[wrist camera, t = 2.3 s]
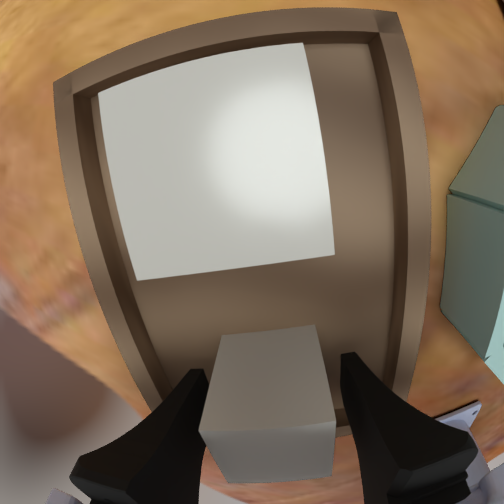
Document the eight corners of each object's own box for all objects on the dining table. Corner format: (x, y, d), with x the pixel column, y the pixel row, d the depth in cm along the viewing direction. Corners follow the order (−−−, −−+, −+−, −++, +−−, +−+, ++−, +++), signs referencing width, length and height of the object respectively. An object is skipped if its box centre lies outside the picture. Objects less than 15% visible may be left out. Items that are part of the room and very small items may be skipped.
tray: (391, 401, 14) (399, 422, 12) (178, 422, 15) (171, 444, 14) (380, 28, 8) (396, 12, 6) (77, 88, 9) (53, 82, 8)
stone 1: (303, 205, 10) (334, 254, 5) (194, 222, 11) (137, 280, 6) (286, 96, 9) (303, 42, 4) (175, 117, 9) (98, 92, 4)
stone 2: (318, 388, 13) (331, 476, 8) (239, 396, 13) (228, 483, 9) (314, 324, 12) (336, 420, 7) (221, 334, 12) (198, 430, 7)
